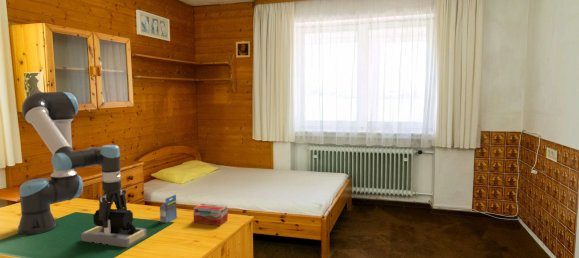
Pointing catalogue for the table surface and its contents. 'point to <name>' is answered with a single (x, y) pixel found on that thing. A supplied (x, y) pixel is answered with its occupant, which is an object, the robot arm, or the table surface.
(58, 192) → the robot arm
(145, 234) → the tester cradle
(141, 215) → the table surface
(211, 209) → the medicine box
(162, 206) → the label tape cartridge
